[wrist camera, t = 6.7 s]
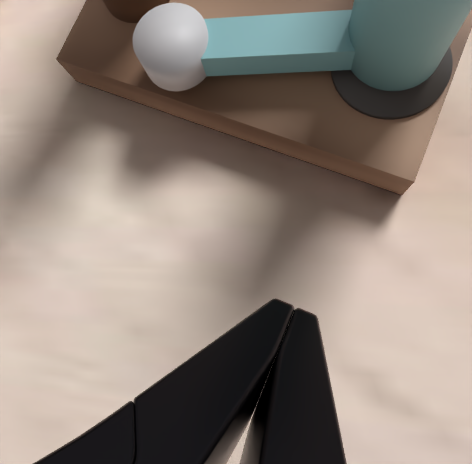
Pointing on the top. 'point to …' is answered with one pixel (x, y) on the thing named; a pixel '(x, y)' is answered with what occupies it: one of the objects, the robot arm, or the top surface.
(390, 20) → the hinged leg
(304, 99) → the brown peg stand
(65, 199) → the top surface
